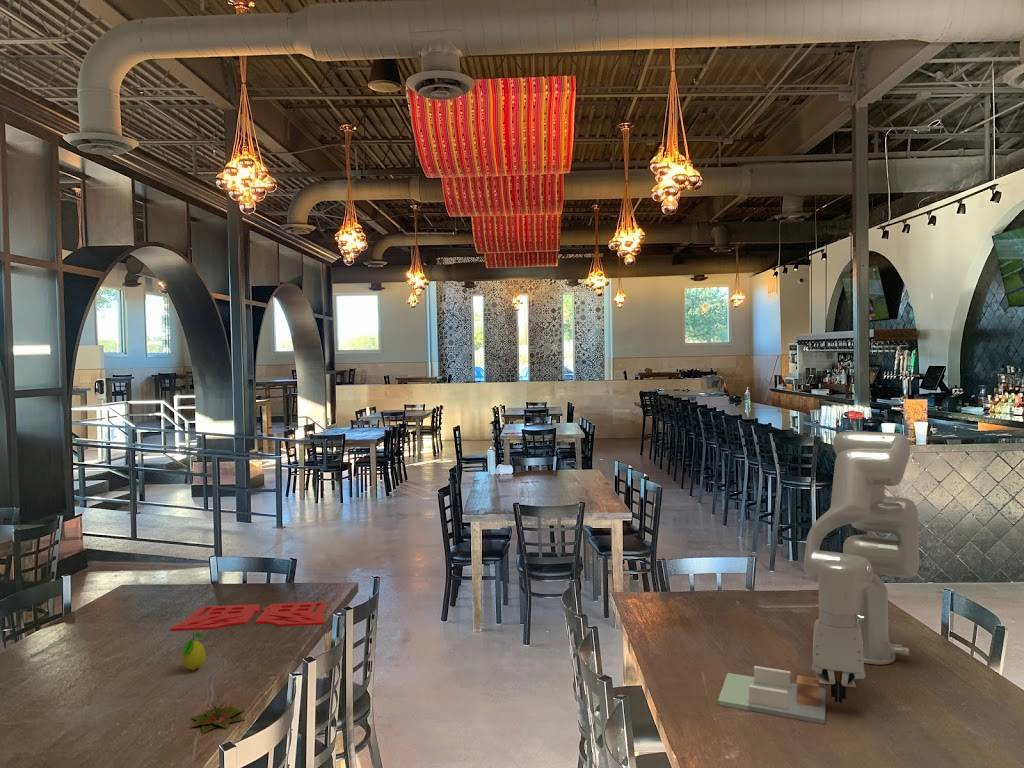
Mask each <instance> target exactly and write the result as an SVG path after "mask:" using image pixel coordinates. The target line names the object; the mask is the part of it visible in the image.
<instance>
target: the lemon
mask: <svg viewBox="0 0 1024 768" xmlns="http://www.w3.org/2000/svg"><path fill="white" fill-rule="evenodd" d="M195 637H196V638H198V639H199V640H203V639H204V637H203V634H202V632H201V631H198V632H196V633H195V631H193V632H192V639H191V640H188V641H187V642H186V643H185V645H184V648H183V650H182V654H181V661H182V664H183V666H184V667H185V668H186V669H189V670H191V671H192V672H194V671H195V670H196V669H198V668H200V667H201V666H202V665H204V663H205V660H206V649H205V647H204V645H203V643H201V641H198V640H195Z"/></svg>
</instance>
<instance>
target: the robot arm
mask: <svg viewBox="0 0 1024 768" xmlns="http://www.w3.org/2000/svg"><path fill="white" fill-rule="evenodd" d="M832 442H833V443H832V444H833V445H832V447H833V449H834V453H835V455H836V457H835V461H834V468H833V469H834V471H833V478H832V479H833V480H832V490H831V500H830V507H829V509H827V511H826V512H825V513H823V514H822V515H821V516H820V517H818V519H817V520H816V521H815V522H814V523H813V525H811V527H810V529H809V531H808V534H807V537H806V540H805V541H806V542H805V550H804V559H803V572H804V574H805V577H806V578H807V579H808V580H809V581H811V582H813V583H817V584H818V618H817V619H815V621H814V626H813V638H812V660H813V661H812V664H811V670H812V671H813V672H814V673H815V672H818V673H820V674H823V675H824V676H825V677H826V678H827V679H828V680H829V682H830V683H831V684H830V697H831V698H834V704H838V703H839V704H840V705H843V700H847V684H848V683H849V682H851V681H852V680H861V679H866V671H865V669H864V668H865V664H867V665H888V664H892V663H894V662H895V661H896V654H897V655H901V656H910V649H909V647H905V646H903V644H898V643H896V644H895V643H893V642H890V637H889V593H888V589H887V587H886V585H885V583H884V582H883V580H882V579H881V578H880V576H879V575H884V576H890V577H898V578H906V579H908V578H914V577H916V576H917V574H918V572H919V568H920V533H919V532H920V531H919V530H920V528H919V512H918V509H917V506H916V504H915V502H913V500H911V499H909V498H906V497H901V496H900V497H899V496H889V495H886V492H885V487H886V486H887V487H895V486H898V485H899V484H900V483H901V482H902V480H903V478H904V475H905V472H906V469H907V465H908V463H909V459H910V455H911V454H910V453H911V446H910V442H909V439H908V438H907V436H905V435H904V434H903V433H898V432H884V431H883V432H882V431H881V432H877V431H857V430H856V431H851V430H850V431H843V432H842V431H841V432H839V433H837V434H835V435H834V437H833V441H832ZM849 524H850V525H851V527H853V528H855V529H856V530H859V531H865V532H872V533H883V534H891V535H895V536H896V537H897V538H893V537H892V538H891V537H884V536H883V537H882V536H875V535H867V534H855V535H854V534H853V535H850V536H848V537H847V538H846V539H845V540H844V542H843V545H842V552H836V551H827V550H821V549H820V548H821V545H822V542H823V540H824V538H825V537H826V536H827V535H828V534H829V533H830V532H832V531H834V530H835V529H839V528H841V527H844V526H847V525H849ZM834 671H839V672H842V675H841V678H840V681H839V686H838V681H837V678H836V677H835V673H834Z"/></svg>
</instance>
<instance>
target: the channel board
mask: <svg viewBox="0 0 1024 768" xmlns="http://www.w3.org/2000/svg"><path fill="white" fill-rule="evenodd" d="M826 692H827V689H826V688H823V687H819V707H817V706H812V705H806V704H800V703H797V683H792V682H791V670H785V669H784V670H783V669H777V668H771V667H764V666H758V665H754V667H753V676H751V675H744V674H736V673H733V672H732V673H730V672H727V673H726V676H725V680H724V681H723V685H722V688H721V691H720V693H719V696H718V699H717V706H723V707H727V708H732V709H733V708H734V709H737V710H743V711H750V712H755V713H760V714H761V713H762V714H765V715H766V714H767V715H772V716H777V717H782V718H788V719H794V720H798V721H799V720H800V721H804V722H805V721H806V722H810V723H817V724H822V725H826Z"/></svg>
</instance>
